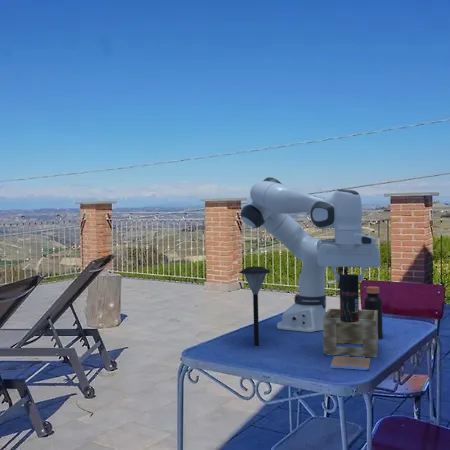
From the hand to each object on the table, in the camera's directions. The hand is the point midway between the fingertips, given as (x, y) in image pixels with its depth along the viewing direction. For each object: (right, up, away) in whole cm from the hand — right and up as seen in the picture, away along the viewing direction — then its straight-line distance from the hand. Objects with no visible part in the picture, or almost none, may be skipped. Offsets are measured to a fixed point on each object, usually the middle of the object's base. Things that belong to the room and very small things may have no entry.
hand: (349, 280), depth 171 cm
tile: (+1, -28, +1) cm, 28 cm away
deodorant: (0, -13, 0) cm, 13 cm away
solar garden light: (-29, -28, +26) cm, 48 cm away
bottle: (+18, -27, +35) cm, 48 cm away
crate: (+5, -27, +18) cm, 33 cm away
